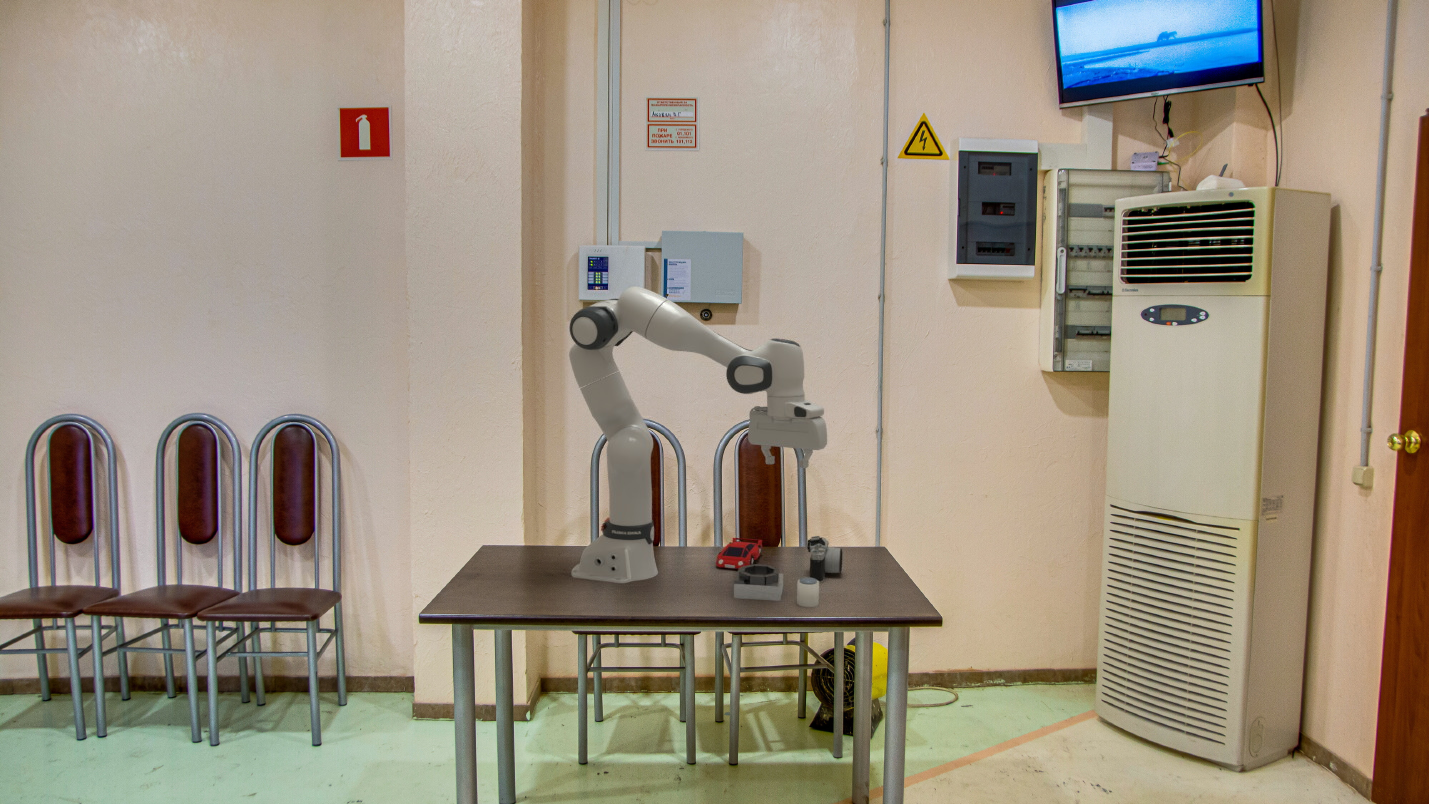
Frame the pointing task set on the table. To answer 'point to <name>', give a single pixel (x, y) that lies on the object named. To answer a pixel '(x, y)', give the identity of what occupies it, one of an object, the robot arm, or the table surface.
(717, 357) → the robot arm
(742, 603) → the table surface
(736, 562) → the toy car
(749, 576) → the grey ring holder
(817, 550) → the camera
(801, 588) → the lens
